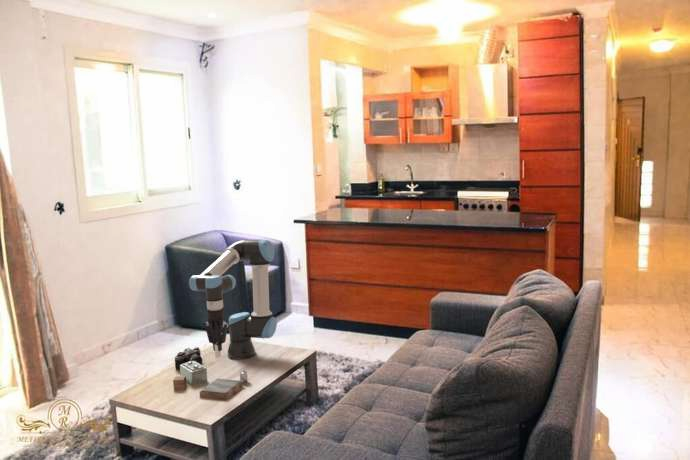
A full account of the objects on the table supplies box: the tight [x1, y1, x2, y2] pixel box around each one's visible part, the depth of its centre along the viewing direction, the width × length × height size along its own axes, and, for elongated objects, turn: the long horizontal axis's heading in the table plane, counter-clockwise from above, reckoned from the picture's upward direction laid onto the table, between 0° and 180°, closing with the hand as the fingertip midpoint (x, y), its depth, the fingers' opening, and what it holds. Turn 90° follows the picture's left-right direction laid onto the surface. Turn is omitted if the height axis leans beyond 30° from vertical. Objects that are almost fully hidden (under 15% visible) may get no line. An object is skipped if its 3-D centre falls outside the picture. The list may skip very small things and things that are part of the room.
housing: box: [179, 361, 208, 386], centre depth 290 cm, size 8×14×8 cm, turn 39°
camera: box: [174, 346, 203, 371], centre depth 308 cm, size 16×10×10 cm, turn 143°
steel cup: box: [239, 370, 249, 384], centre depth 284 cm, size 4×4×5 cm
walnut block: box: [172, 375, 188, 391], centre depth 280 cm, size 5×5×5 cm
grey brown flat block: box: [199, 378, 244, 401], centre depth 273 cm, size 16×14×3 cm
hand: (218, 357), depth 272 cm, fingers closed
